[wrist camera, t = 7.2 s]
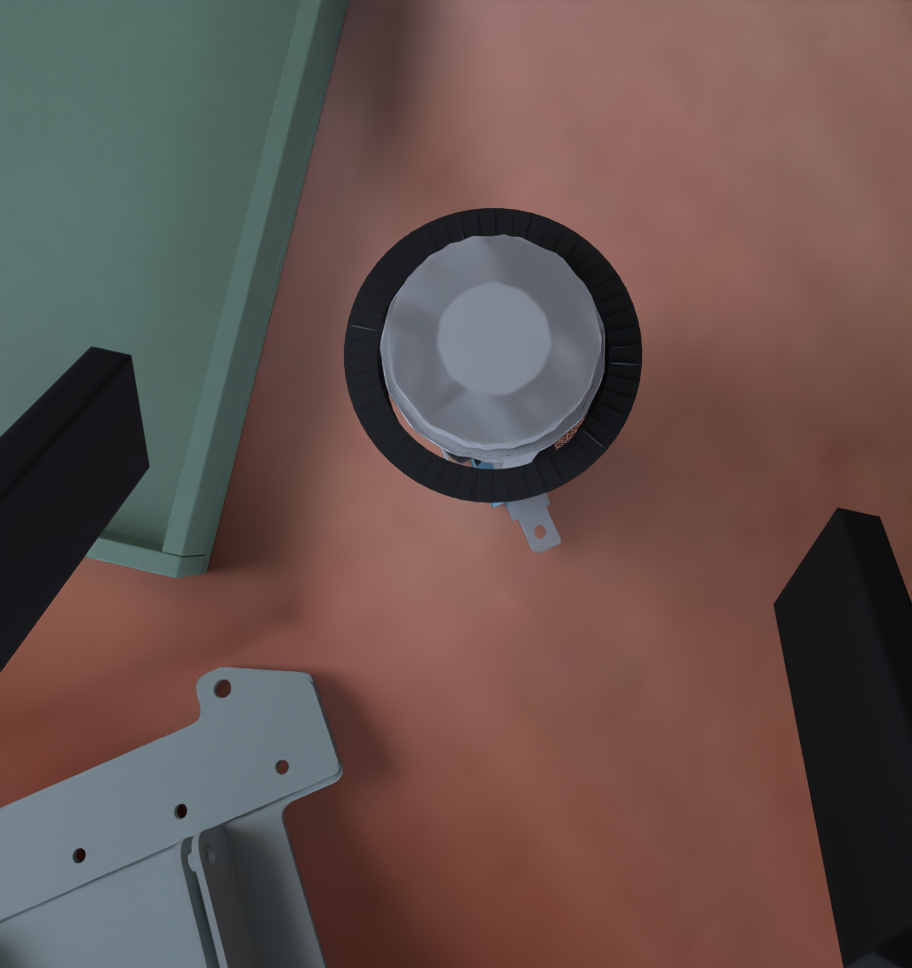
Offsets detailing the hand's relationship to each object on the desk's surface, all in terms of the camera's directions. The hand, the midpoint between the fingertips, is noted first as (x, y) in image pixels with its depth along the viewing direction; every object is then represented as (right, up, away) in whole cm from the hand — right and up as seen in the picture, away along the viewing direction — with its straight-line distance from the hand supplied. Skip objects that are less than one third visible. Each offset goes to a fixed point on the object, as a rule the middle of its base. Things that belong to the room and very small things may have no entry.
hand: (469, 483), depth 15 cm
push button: (+1, +1, +8) cm, 8 cm away
